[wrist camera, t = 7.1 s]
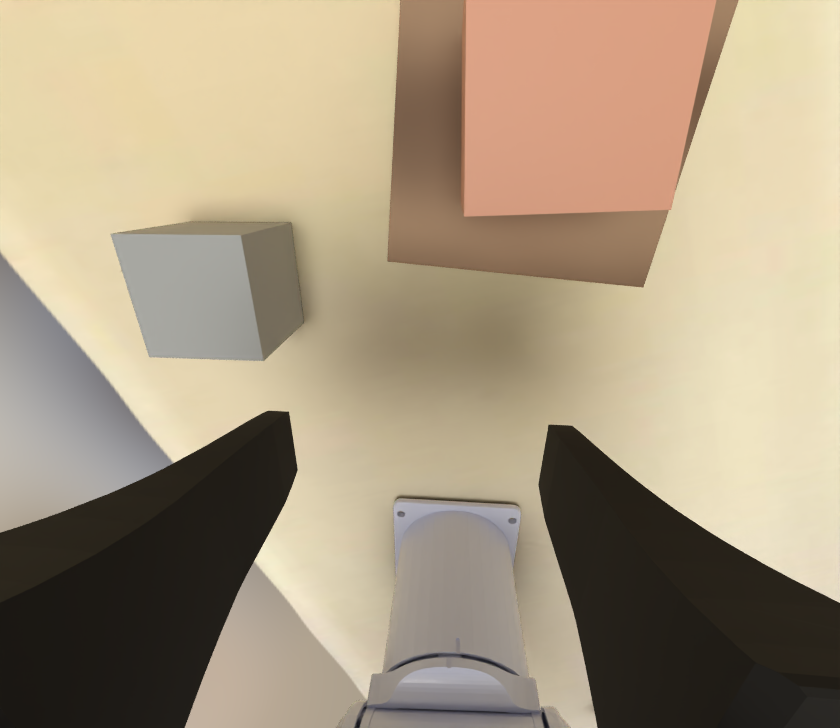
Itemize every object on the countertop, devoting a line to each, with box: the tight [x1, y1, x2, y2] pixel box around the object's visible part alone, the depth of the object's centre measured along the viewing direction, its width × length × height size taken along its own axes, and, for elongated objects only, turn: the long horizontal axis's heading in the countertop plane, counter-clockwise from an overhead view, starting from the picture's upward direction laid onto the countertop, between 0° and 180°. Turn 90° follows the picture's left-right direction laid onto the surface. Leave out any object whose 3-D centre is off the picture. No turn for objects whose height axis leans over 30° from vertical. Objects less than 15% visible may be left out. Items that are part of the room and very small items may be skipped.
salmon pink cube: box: [461, 0, 716, 217], centre depth 11 cm, size 5×5×5 cm
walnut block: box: [388, 0, 738, 287], centre depth 15 cm, size 10×10×4 cm
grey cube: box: [111, 222, 304, 361], centre depth 18 cm, size 5×5×5 cm
